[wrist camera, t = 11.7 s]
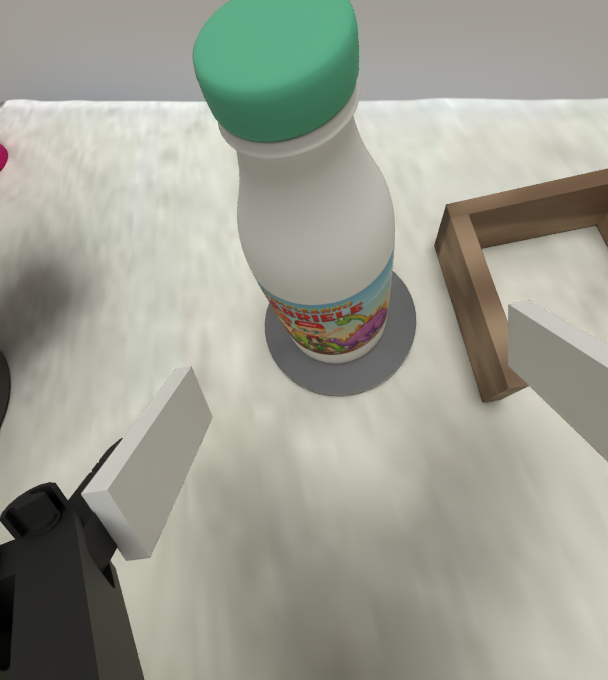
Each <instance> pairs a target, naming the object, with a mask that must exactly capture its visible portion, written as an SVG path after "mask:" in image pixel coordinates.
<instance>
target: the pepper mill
mask: <svg viewBox="0 0 608 680" xmlns="http://www.w3.org/2000/svg"><path fill="white" fill-rule="evenodd" d="M6 160H7V151H6V149H5V148H4V147H3V146H2V145H1V144H0V170H1V169H2V168H3V166H4V164H5V162H6Z"/></svg>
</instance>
